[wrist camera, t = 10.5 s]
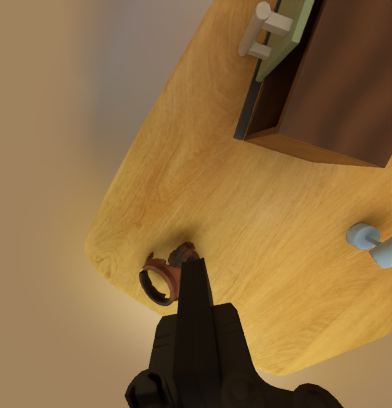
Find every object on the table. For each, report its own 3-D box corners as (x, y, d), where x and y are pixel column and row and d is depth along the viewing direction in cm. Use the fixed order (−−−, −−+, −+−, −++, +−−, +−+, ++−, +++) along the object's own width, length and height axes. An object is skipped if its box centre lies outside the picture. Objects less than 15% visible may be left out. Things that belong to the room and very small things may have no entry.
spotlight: (367, 210, 33) (337, 238, 35) (439, 233, 24) (394, 271, 25) (384, 226, 34) (354, 253, 36) (460, 255, 25) (415, 291, 26)
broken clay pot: (195, 288, 37) (170, 322, 30) (159, 259, 40) (129, 284, 33) (219, 245, 32) (195, 274, 25) (175, 215, 34) (143, 234, 28)
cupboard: (233, 137, 30) (260, 128, 18) (286, -28, 25) (371, -189, 13) (312, 162, 31) (385, 168, 19) (378, 10, 26) (530, -105, 14)
